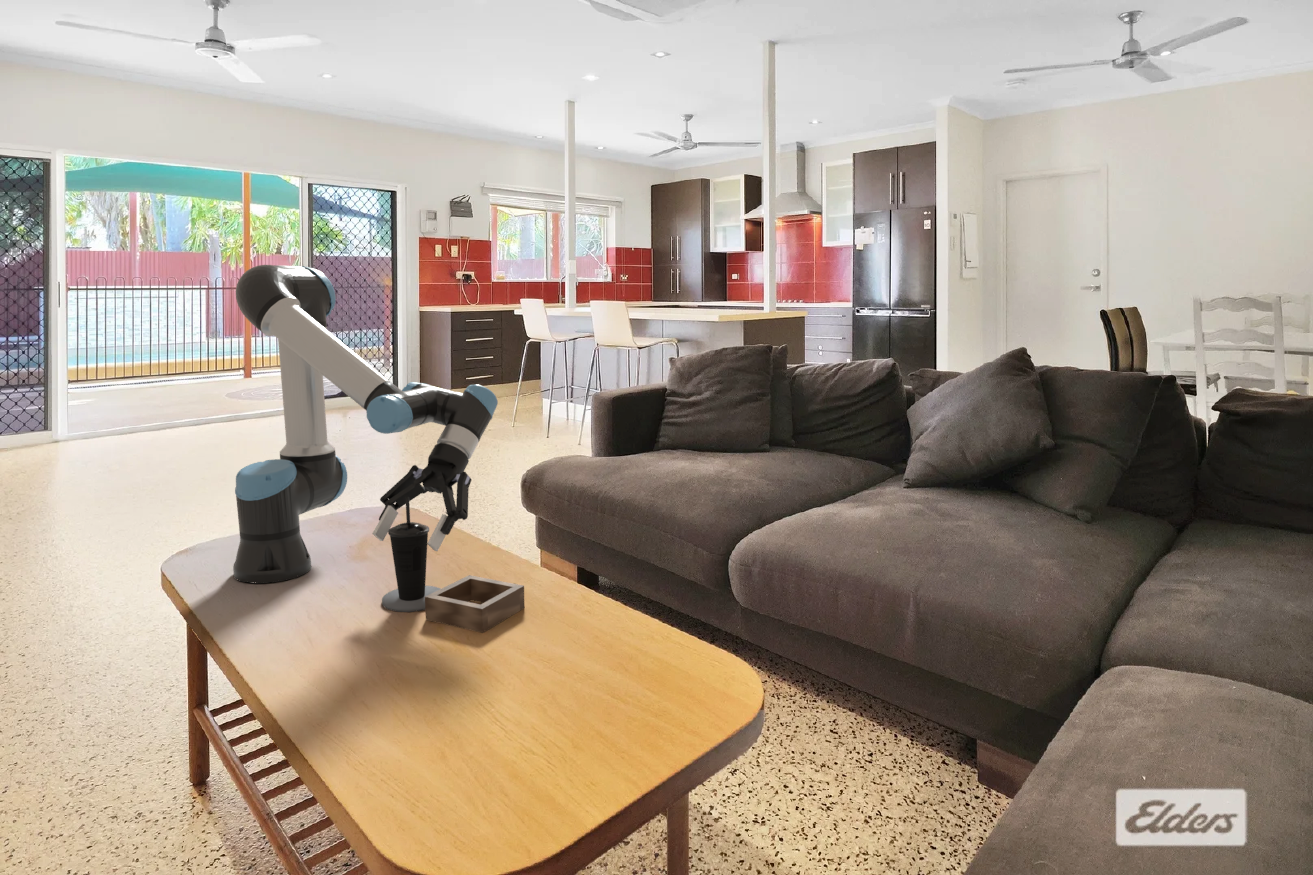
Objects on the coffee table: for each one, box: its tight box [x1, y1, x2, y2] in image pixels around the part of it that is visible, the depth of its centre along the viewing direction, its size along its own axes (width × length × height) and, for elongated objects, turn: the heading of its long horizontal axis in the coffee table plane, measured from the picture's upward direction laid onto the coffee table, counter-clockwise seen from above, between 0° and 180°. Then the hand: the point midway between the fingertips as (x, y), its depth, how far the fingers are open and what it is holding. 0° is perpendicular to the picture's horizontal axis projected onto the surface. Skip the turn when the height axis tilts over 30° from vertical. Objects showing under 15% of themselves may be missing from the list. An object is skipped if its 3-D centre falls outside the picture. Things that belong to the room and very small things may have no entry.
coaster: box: [381, 585, 442, 613], centre depth 162 cm, size 12×12×1 cm
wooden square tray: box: [424, 574, 525, 634], centre depth 156 cm, size 13×13×4 cm
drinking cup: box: [387, 497, 430, 601], centre depth 161 cm, size 8×8×20 cm
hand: (404, 542), depth 158 cm, fingers open, 13 cm apart
